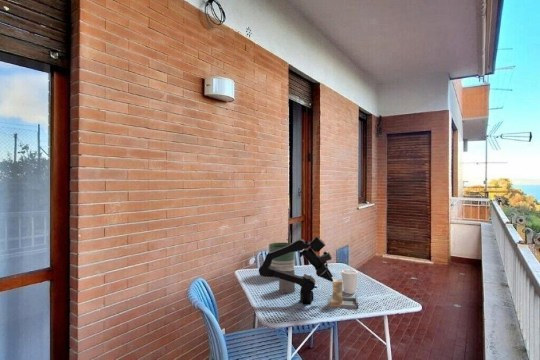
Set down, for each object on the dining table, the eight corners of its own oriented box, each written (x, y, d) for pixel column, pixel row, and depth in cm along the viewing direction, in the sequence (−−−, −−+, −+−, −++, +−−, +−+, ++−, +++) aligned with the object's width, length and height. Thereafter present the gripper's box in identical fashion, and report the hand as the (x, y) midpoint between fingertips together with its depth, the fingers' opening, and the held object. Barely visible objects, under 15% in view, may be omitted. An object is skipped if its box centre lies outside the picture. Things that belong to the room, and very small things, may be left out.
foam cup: (347, 289, 198) (347, 268, 198) (360, 293, 191) (360, 271, 192) (338, 293, 191) (338, 271, 192) (352, 297, 185) (352, 274, 185)
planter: (270, 270, 243) (270, 242, 243) (296, 271, 240) (296, 242, 241) (267, 277, 224) (266, 247, 224) (294, 278, 221) (294, 247, 221)
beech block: (332, 304, 172) (332, 281, 172) (333, 300, 176) (332, 279, 177) (342, 304, 170) (342, 282, 171) (342, 301, 175) (342, 279, 176)
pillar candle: (284, 287, 204) (284, 263, 204) (297, 290, 198) (297, 265, 198) (276, 291, 196) (275, 267, 196) (289, 294, 190) (289, 269, 190)
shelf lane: (327, 308, 169) (326, 300, 169) (327, 300, 180) (327, 293, 181) (358, 310, 165) (358, 302, 165) (357, 302, 177) (357, 294, 177)
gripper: (322, 250, 167) (344, 273, 164) (323, 245, 185) (342, 265, 183) (307, 265, 168) (328, 287, 165) (309, 258, 186) (328, 278, 184)
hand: (332, 279), depth 174 cm, fingers open, 9 cm apart
